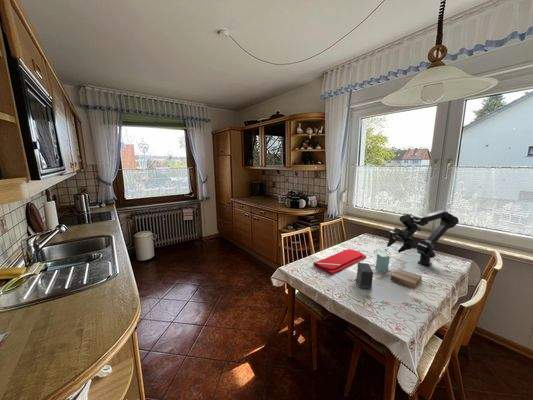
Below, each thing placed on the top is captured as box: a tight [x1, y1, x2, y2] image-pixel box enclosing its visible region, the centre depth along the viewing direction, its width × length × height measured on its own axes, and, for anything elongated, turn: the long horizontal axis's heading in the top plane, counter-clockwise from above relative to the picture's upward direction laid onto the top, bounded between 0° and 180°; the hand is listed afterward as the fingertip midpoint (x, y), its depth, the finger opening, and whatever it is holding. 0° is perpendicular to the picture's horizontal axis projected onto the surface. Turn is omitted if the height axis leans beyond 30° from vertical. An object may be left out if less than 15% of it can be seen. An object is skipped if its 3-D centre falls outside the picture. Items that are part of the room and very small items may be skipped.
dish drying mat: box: [312, 248, 367, 276], centre depth 153 cm, size 16×41×4 cm, turn 127°
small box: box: [356, 262, 374, 290], centre depth 125 cm, size 11×6×10 cm, turn 168°
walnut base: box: [390, 268, 423, 290], centre depth 129 cm, size 12×12×3 cm
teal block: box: [375, 252, 390, 272], centre depth 142 cm, size 5×5×10 cm
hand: (392, 249), depth 142 cm, fingers open, 9 cm apart
